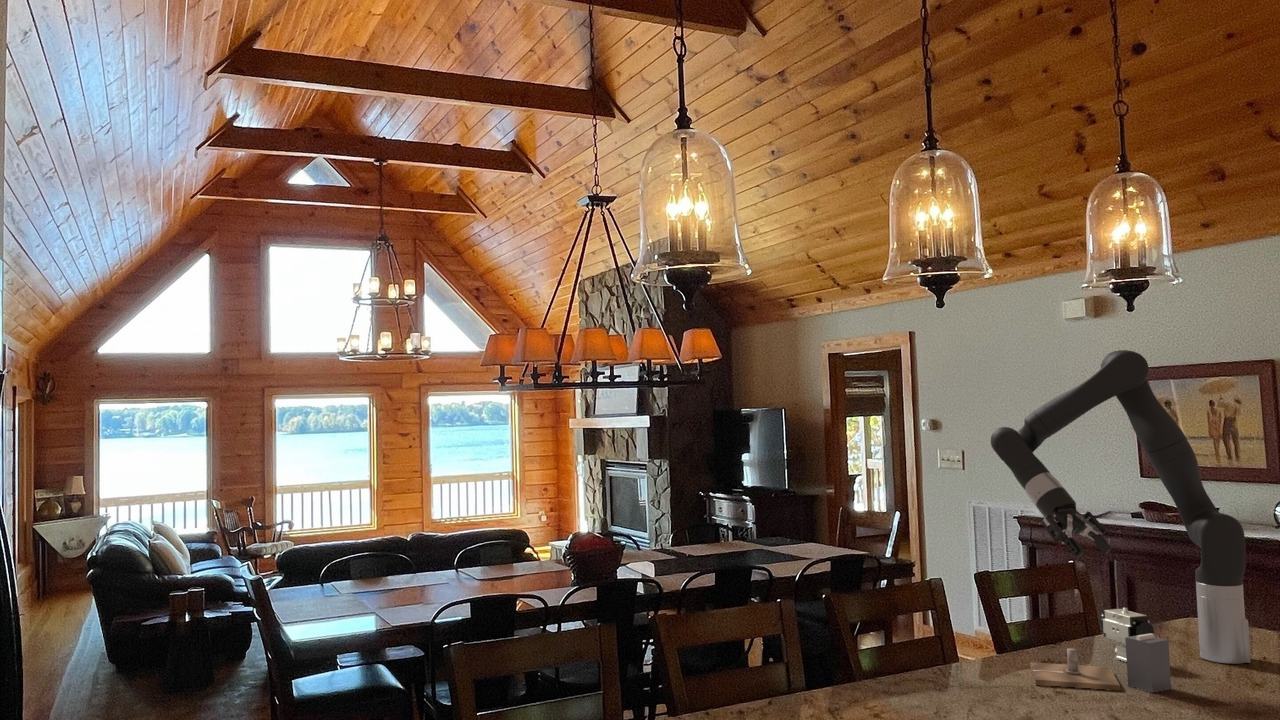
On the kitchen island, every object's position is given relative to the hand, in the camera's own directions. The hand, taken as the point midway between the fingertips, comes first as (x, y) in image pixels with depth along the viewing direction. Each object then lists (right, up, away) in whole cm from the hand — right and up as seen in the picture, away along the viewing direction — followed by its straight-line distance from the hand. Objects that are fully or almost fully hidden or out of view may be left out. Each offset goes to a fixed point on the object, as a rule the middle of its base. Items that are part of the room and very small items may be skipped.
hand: (1094, 553), depth 203 cm
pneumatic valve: (+11, -27, +8) cm, 30 cm away
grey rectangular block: (+5, -25, -12) cm, 29 cm away
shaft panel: (-7, -26, -5) cm, 27 cm away
